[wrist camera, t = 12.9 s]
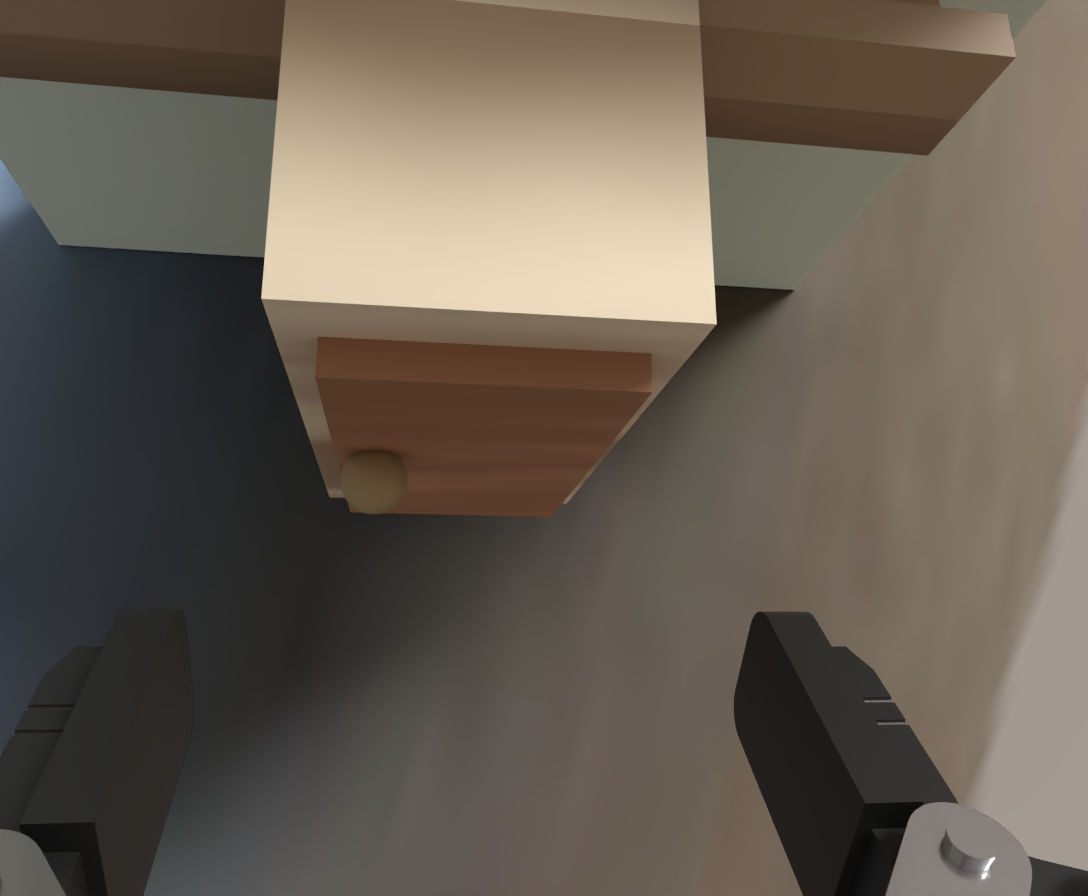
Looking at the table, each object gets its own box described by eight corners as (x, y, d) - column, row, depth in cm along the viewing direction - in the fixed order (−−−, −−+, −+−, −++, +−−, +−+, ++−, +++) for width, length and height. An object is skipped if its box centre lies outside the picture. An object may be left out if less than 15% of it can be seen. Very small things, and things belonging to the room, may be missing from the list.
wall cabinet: (567, 568, 20) (723, 443, 10) (325, 564, 19) (251, 425, 10) (563, 193, 22) (687, -195, 13) (347, 177, 21) (305, -247, 12)
